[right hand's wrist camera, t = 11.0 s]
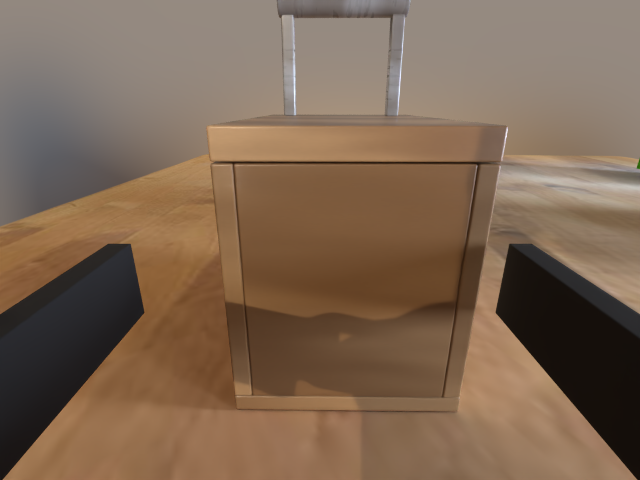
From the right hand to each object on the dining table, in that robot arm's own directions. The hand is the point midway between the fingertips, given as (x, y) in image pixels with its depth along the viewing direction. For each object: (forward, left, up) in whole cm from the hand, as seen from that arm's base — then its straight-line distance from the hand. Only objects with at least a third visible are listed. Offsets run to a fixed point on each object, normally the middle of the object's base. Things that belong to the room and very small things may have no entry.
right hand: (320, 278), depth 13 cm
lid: (+2, -8, +4) cm, 9 cm away
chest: (+1, -7, -6) cm, 10 cm away
